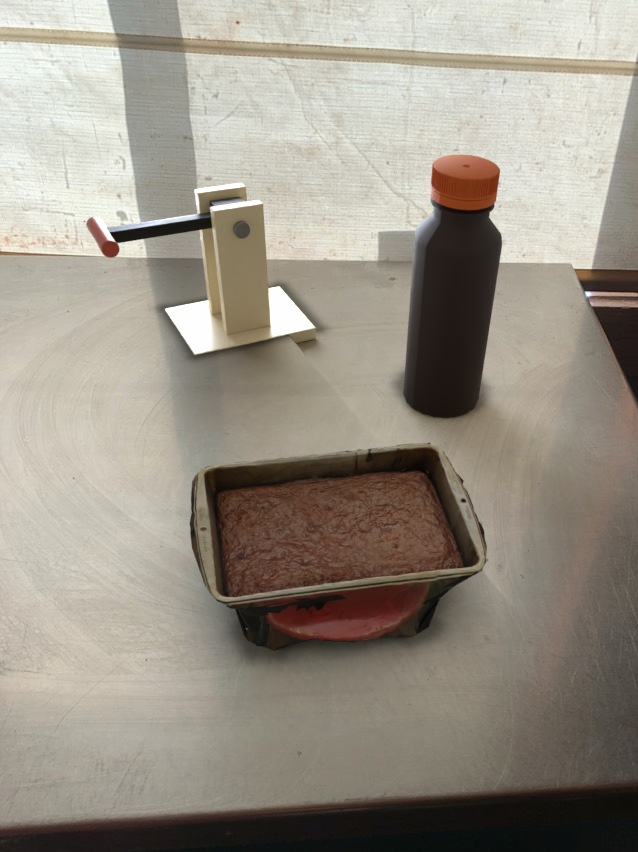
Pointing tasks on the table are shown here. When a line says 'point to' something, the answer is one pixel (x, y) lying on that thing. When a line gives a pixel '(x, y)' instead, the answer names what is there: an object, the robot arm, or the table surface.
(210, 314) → the bracket
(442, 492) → the baking dish
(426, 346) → the bottle
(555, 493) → the table surface
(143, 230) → the lever
